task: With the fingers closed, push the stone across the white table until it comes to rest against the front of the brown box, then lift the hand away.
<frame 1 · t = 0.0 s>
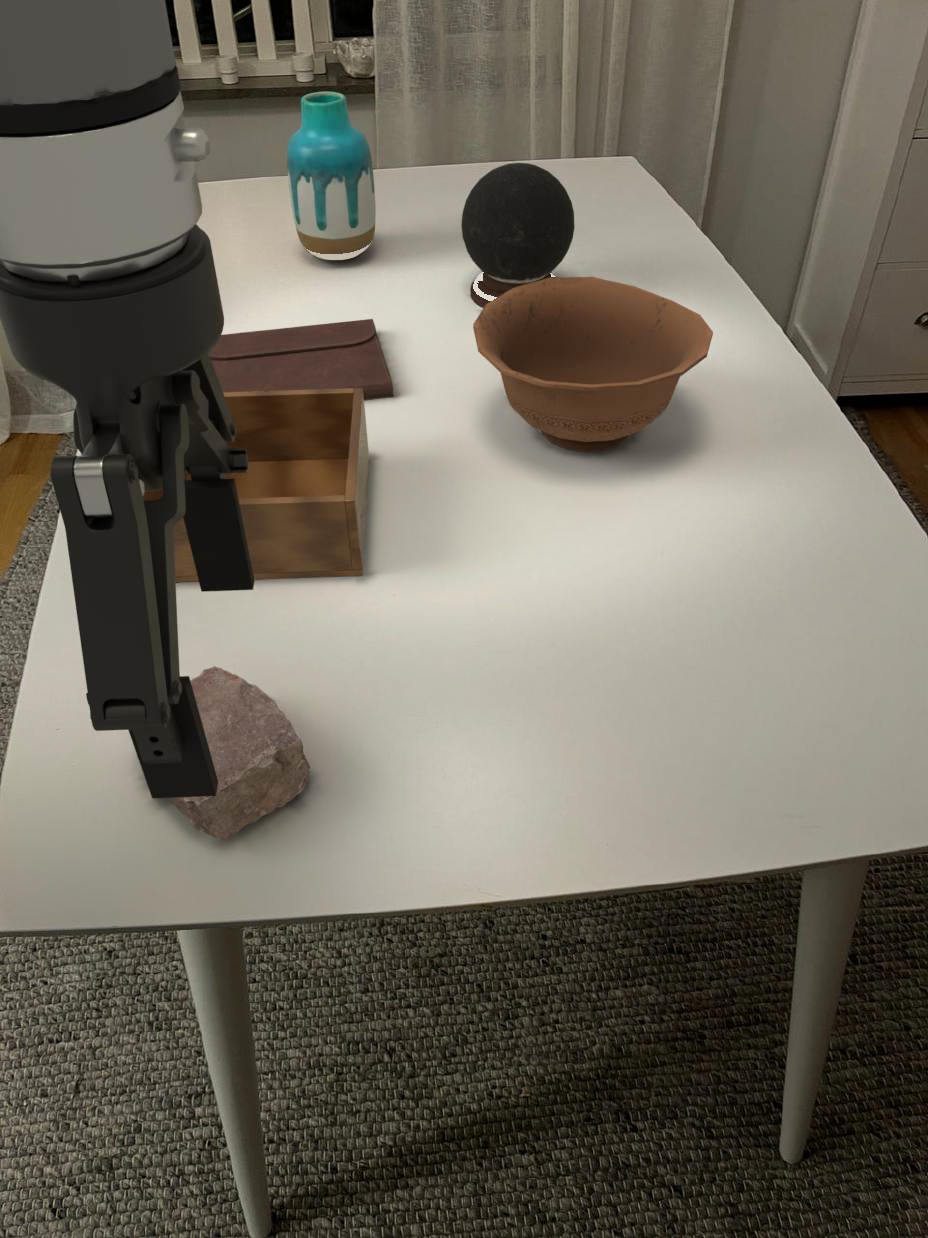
hand: (209, 678, 49), 19 cm above the table, tool pointing down, fingers open, 13 cm apart
box: (267, 516, 91), on the table
bowl: (584, 429, 101), on the table
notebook: (292, 375, 110), on the table
vase: (338, 257, 133), on the table
black ball on stand: (516, 295, 124), on the table
stone: (222, 771, 69), on the table
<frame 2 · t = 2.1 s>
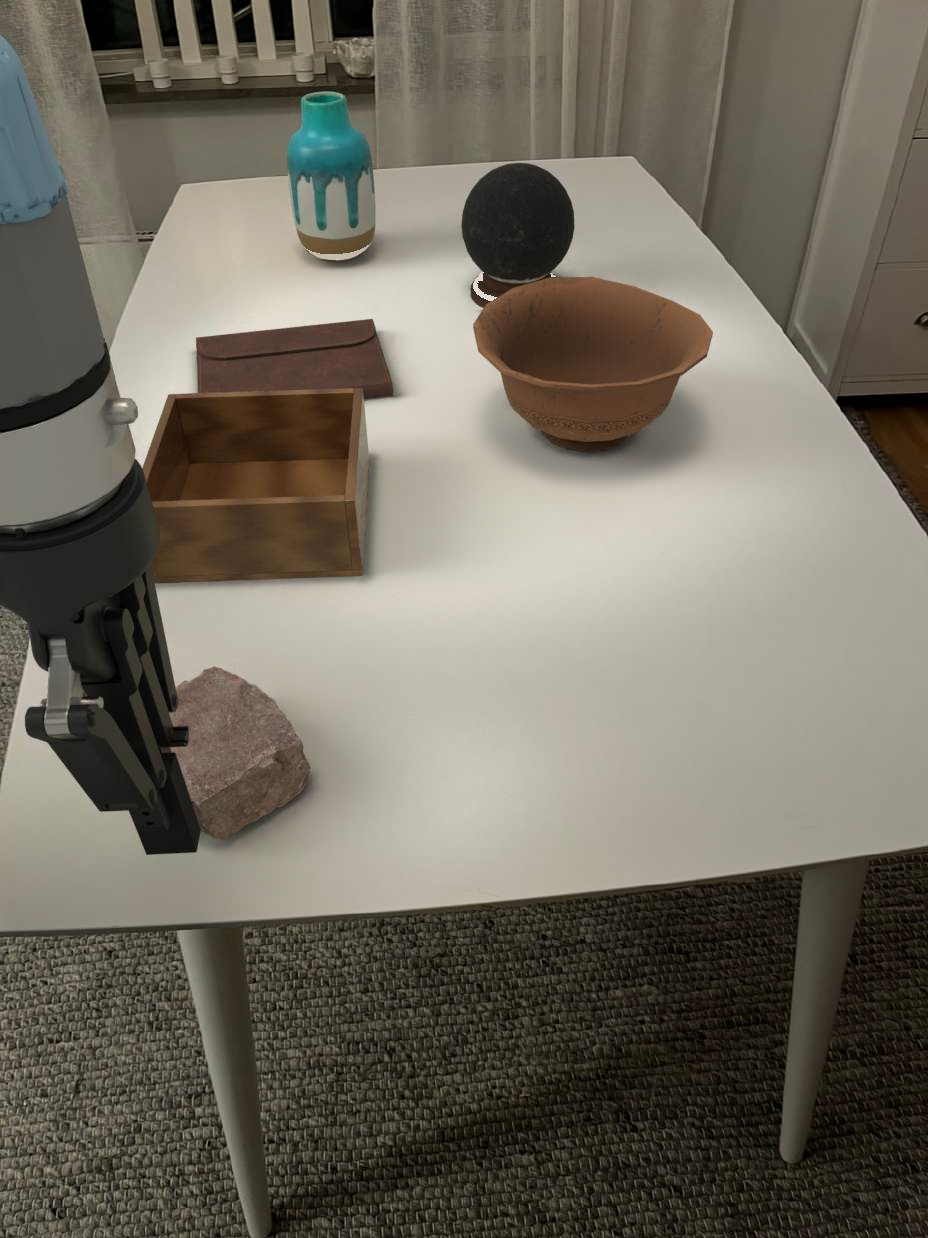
hand: (173, 842, 55), 8 cm above the table, tool pointing down, fingers closed
nothing on the table moved.
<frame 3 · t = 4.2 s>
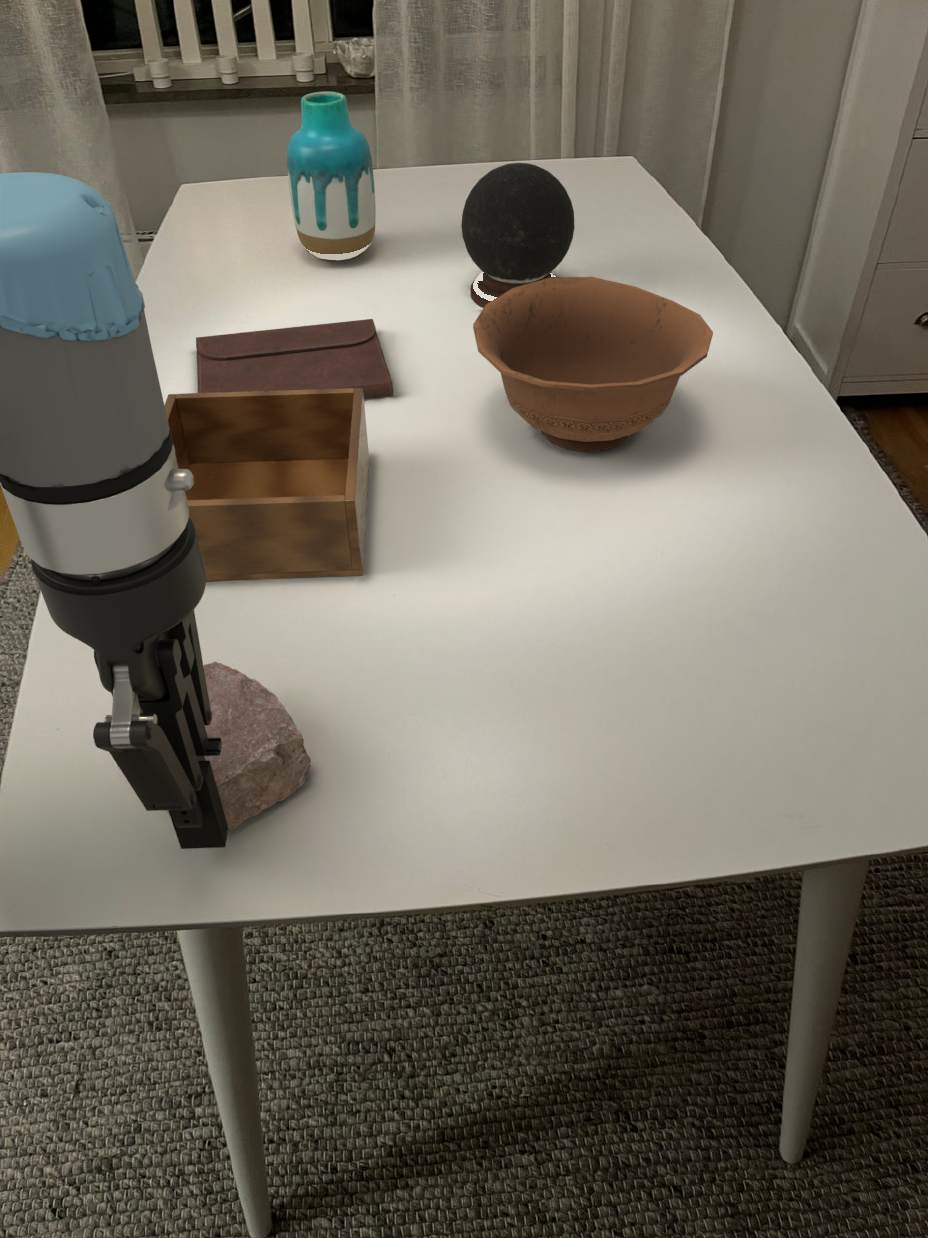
hand: (205, 838, 63), 1 cm above the table, tool pointing down, fingers closed
stone: (223, 765, 69), on the table, touching gripper
everything else where it was.
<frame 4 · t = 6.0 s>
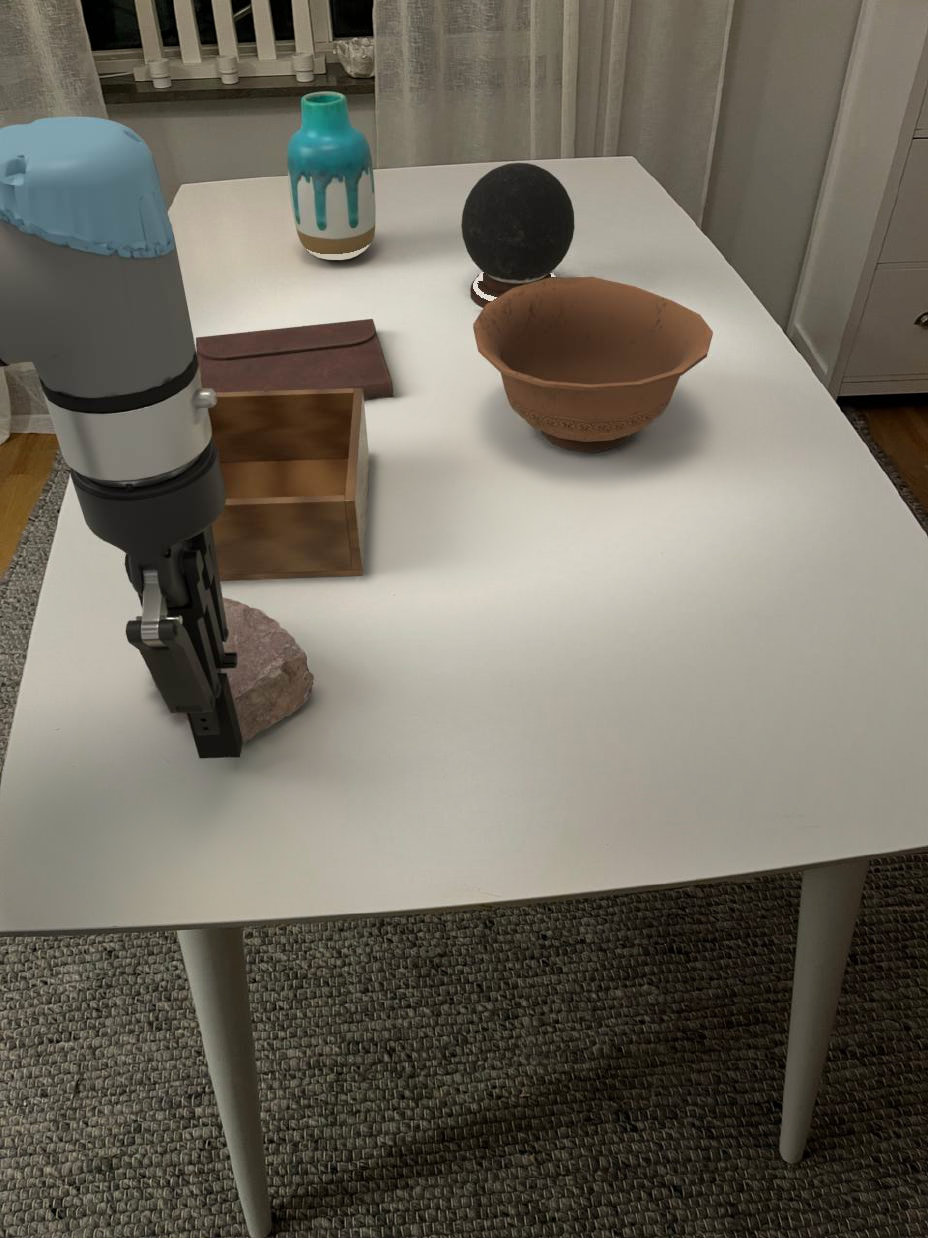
hand: (221, 749, 68), 1 cm above the table, tool pointing down, fingers closed
stone: (230, 690, 75), on the table, touching gripper
everything else where it was.
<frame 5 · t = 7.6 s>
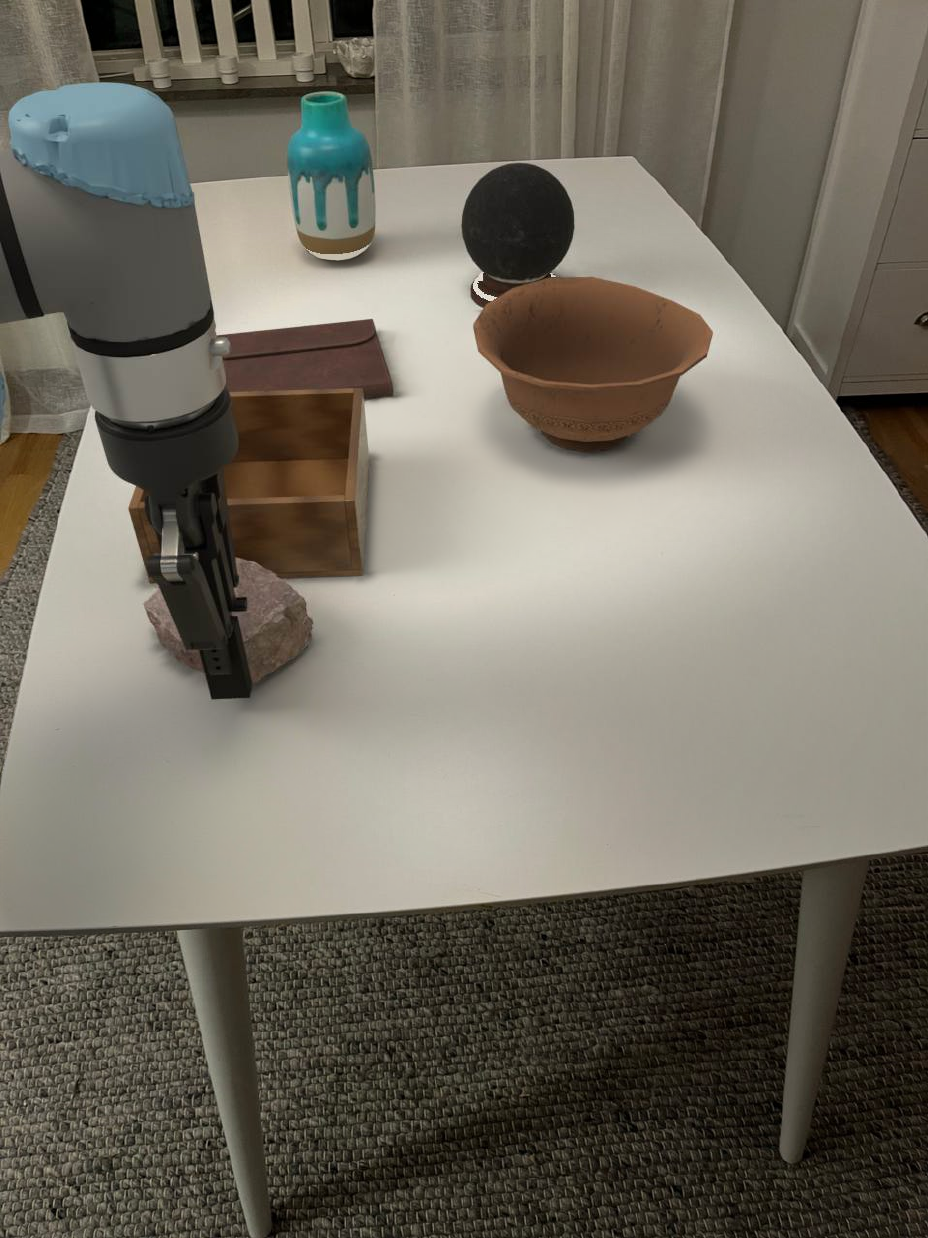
hand: (232, 691, 72), 1 cm above the table, tool pointing down, fingers closed
stone: (232, 641, 79), on the table, touching gripper
everything else where it was.
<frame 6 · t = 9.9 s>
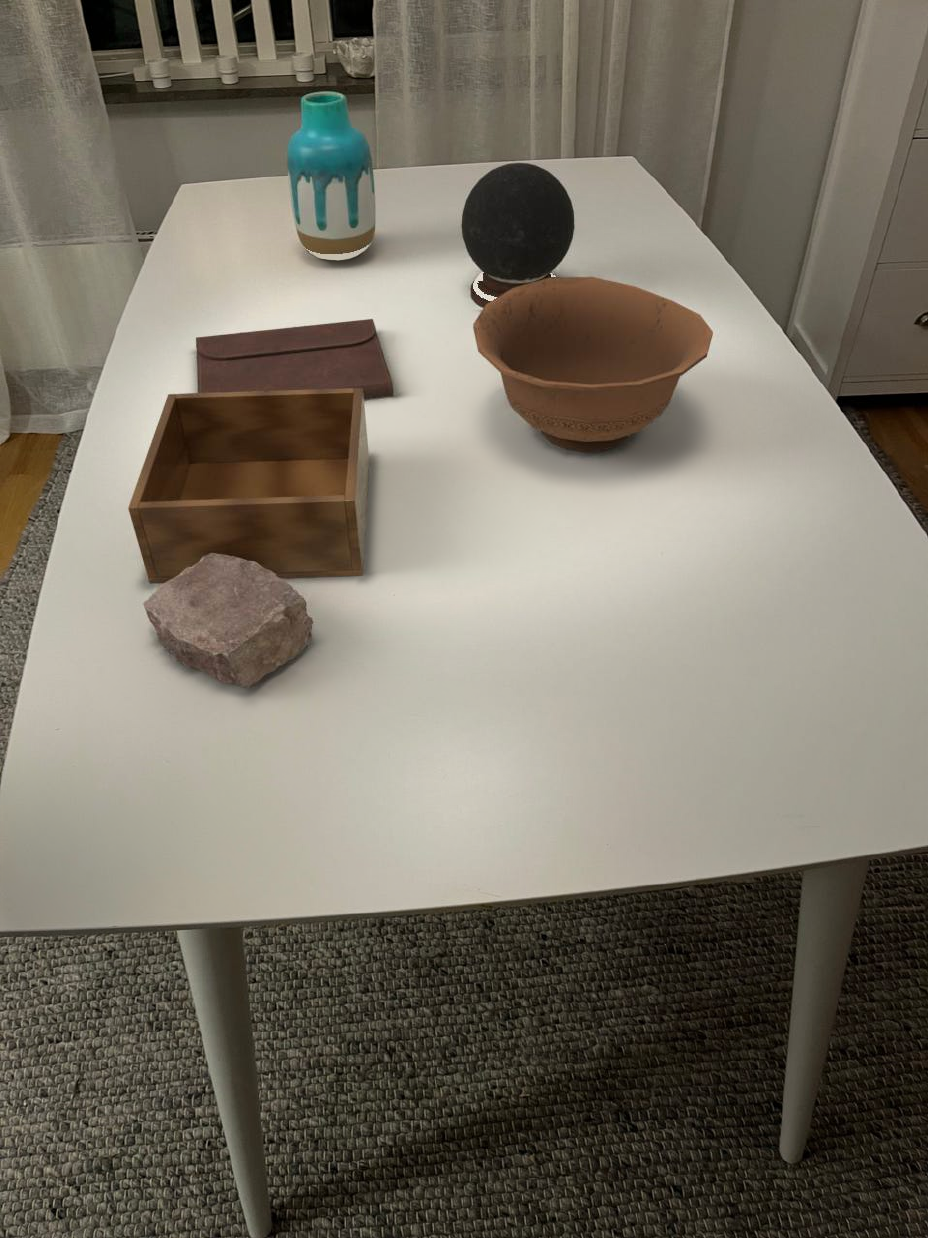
stone: (232, 641, 79), on the table
everything else where it was.
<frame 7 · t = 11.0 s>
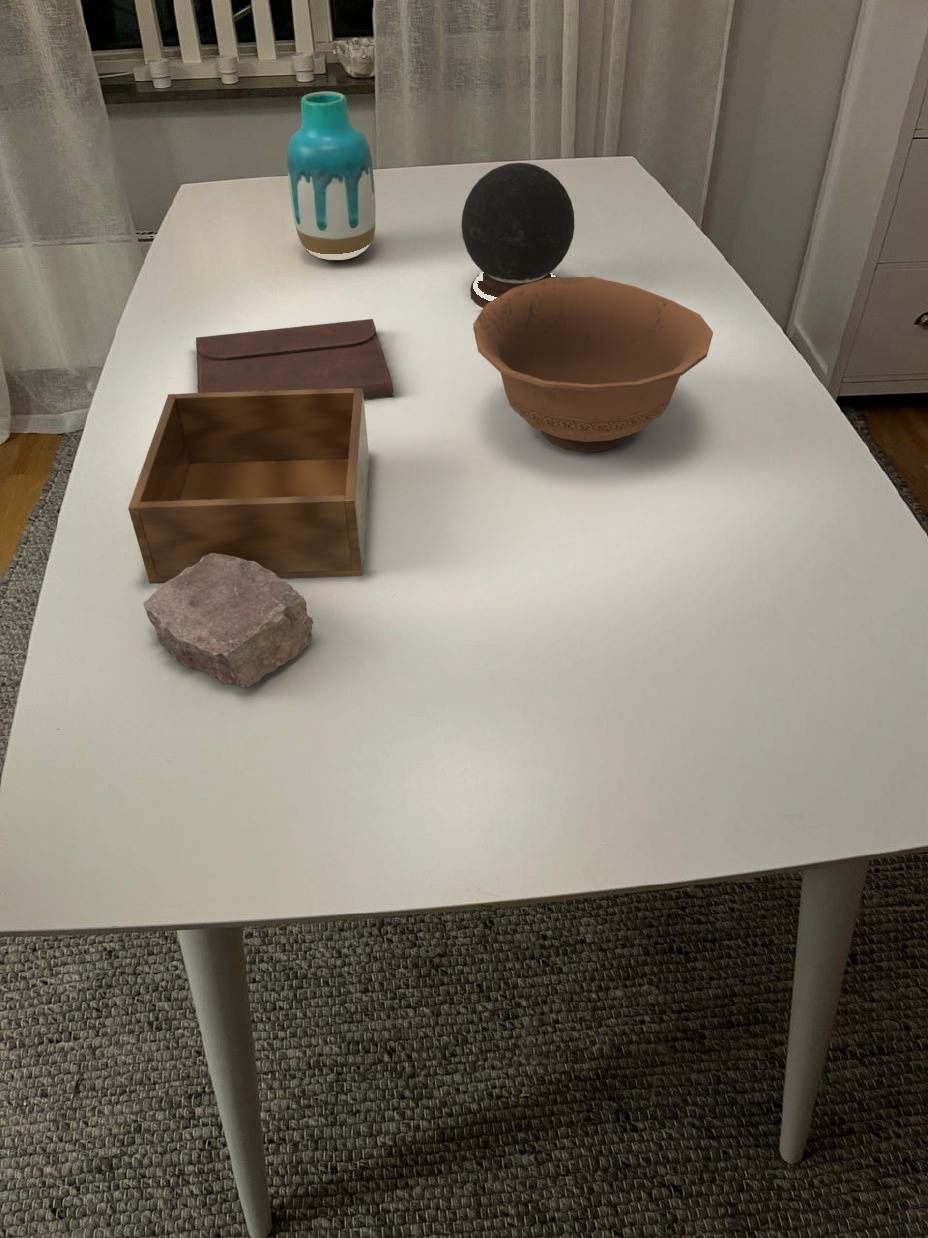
nothing on the table moved.
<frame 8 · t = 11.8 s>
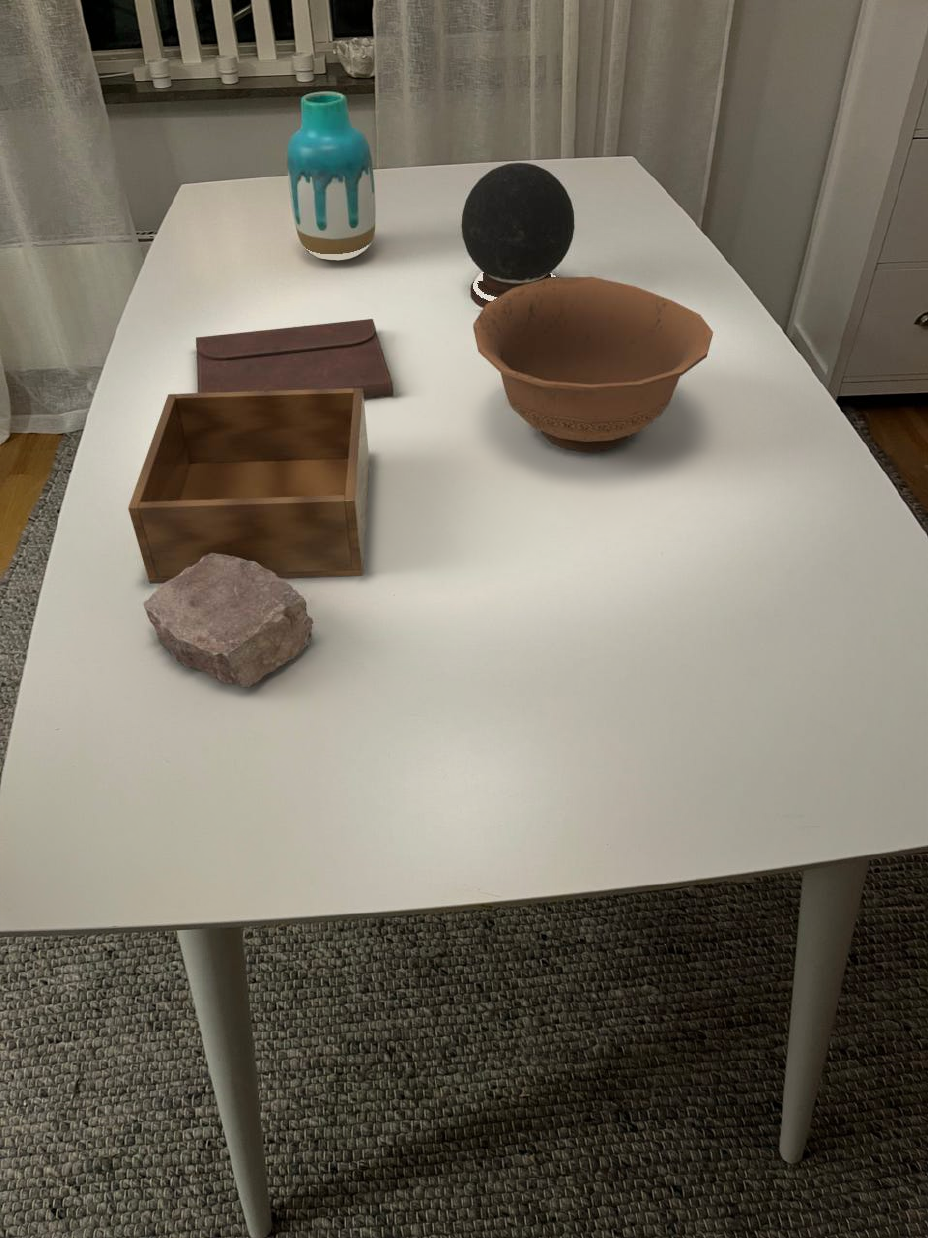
nothing on the table moved.
at the end: stone moved 13.0 cm from its start; stone 16.0 cm from the box (horizontally) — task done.
